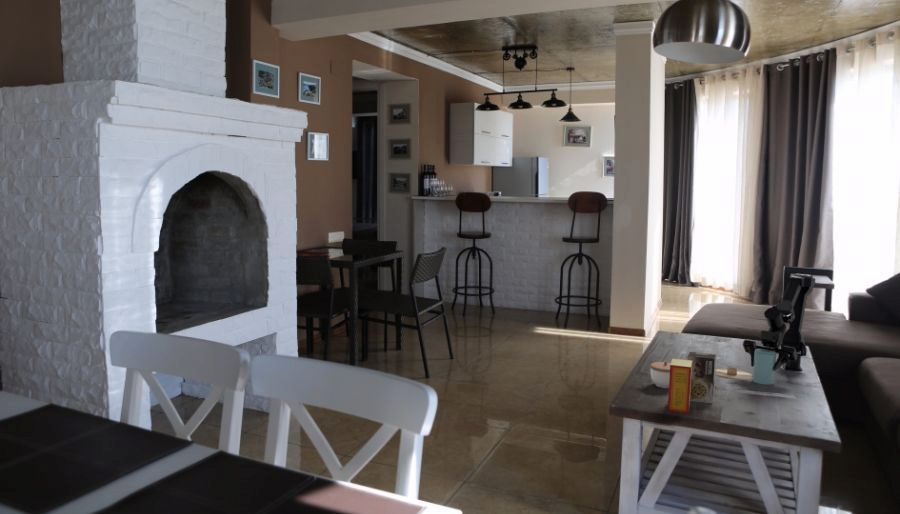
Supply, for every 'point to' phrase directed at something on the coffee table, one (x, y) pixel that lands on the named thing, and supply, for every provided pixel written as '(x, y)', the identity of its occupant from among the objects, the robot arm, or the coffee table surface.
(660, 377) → the lidded jar
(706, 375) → the coffee box
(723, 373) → the oak plate
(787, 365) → the robot arm
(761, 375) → the teal domed canister
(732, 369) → the bowl
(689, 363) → the baking soda box
